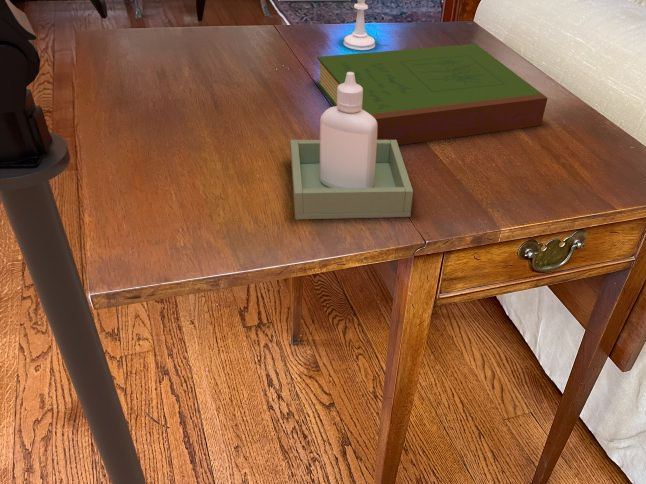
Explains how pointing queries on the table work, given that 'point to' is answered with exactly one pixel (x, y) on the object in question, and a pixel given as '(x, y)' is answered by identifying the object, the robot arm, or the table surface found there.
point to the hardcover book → (436, 92)
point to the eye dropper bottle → (348, 140)
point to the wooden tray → (336, 203)
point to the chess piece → (359, 31)
